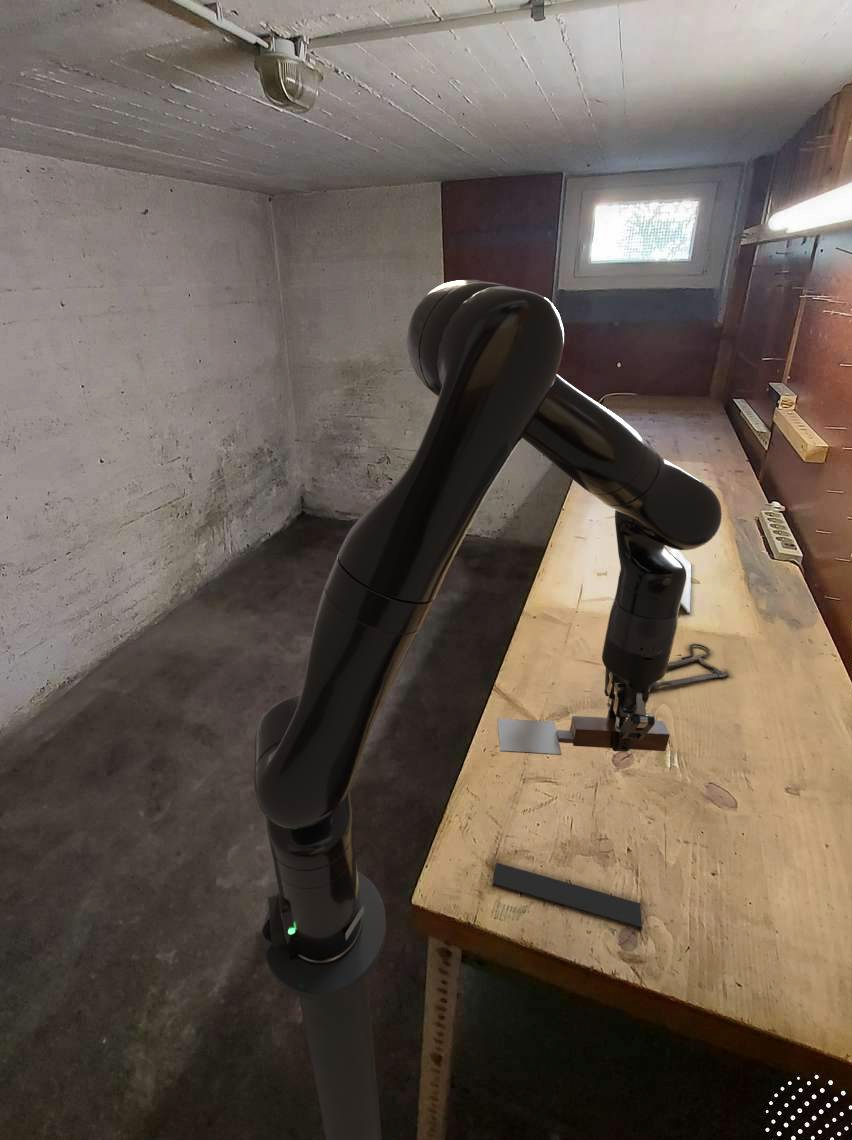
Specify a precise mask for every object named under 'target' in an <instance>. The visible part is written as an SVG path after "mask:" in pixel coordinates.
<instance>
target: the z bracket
mask: <svg viewBox="0 0 852 1140" xmlns="http://www.w3.org/2000/svg"><path fill="white" fill-rule="evenodd" d="M668 551H669V552H670V553H671V554H672V555H673V556H674V557H676V558H677V559H678V560H679V561H680V562H681V563H682V564H683V565H684V567H685V569H686V574H687V577H686V584H685V588H684V591H683V595H682V599H681V604H680V606H682V608H683V609H684V610H685V611H686V612H687V614H690V613H691V578H692V577H691V572H692V565H691V563H690V562H689V561H688V560H687V558H686V557H685V555H683V553H682V552H681V550H677V549H673V548H671V549H668Z"/></svg>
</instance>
